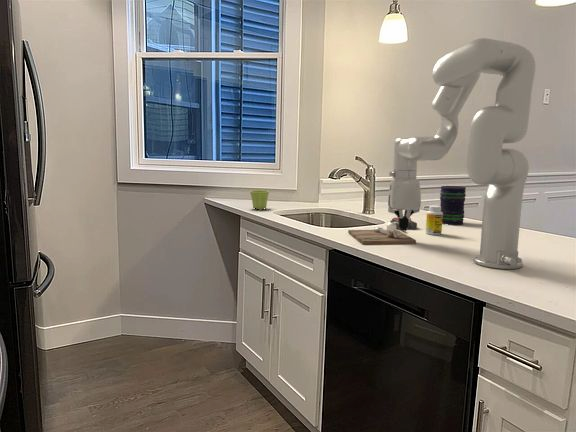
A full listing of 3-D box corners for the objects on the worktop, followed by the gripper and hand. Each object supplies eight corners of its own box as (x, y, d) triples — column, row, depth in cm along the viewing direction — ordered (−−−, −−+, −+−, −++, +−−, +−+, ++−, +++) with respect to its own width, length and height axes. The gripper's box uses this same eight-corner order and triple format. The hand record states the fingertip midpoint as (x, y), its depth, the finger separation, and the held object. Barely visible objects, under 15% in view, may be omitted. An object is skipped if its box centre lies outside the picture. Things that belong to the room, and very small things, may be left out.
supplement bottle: (434, 236, 175) (436, 207, 173) (422, 233, 179) (423, 205, 178) (444, 234, 178) (446, 206, 176) (432, 232, 182) (434, 204, 181)
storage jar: (468, 224, 199) (471, 187, 197) (449, 225, 196) (451, 188, 194) (452, 220, 209) (454, 185, 206) (433, 221, 205) (435, 186, 203)
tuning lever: (402, 237, 164) (402, 224, 163) (392, 238, 163) (393, 224, 162) (380, 230, 177) (381, 217, 176) (371, 230, 176) (372, 218, 175)
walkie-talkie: (385, 224, 199) (402, 234, 180) (385, 213, 199) (403, 222, 179) (405, 224, 200) (425, 233, 181) (406, 213, 200) (426, 222, 180)
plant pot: (247, 208, 238) (247, 190, 237) (266, 207, 241) (266, 189, 239) (252, 210, 229) (252, 192, 228) (271, 210, 232) (271, 192, 231)
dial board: (415, 243, 161) (416, 239, 161) (362, 244, 159) (362, 240, 159) (396, 232, 180) (396, 228, 180) (348, 233, 178) (348, 229, 177)
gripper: (386, 176, 159) (384, 232, 162) (430, 175, 161) (428, 231, 163) (379, 174, 167) (378, 228, 169) (422, 174, 168) (420, 227, 171)
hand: (403, 229), depth 166 cm, fingers closed
